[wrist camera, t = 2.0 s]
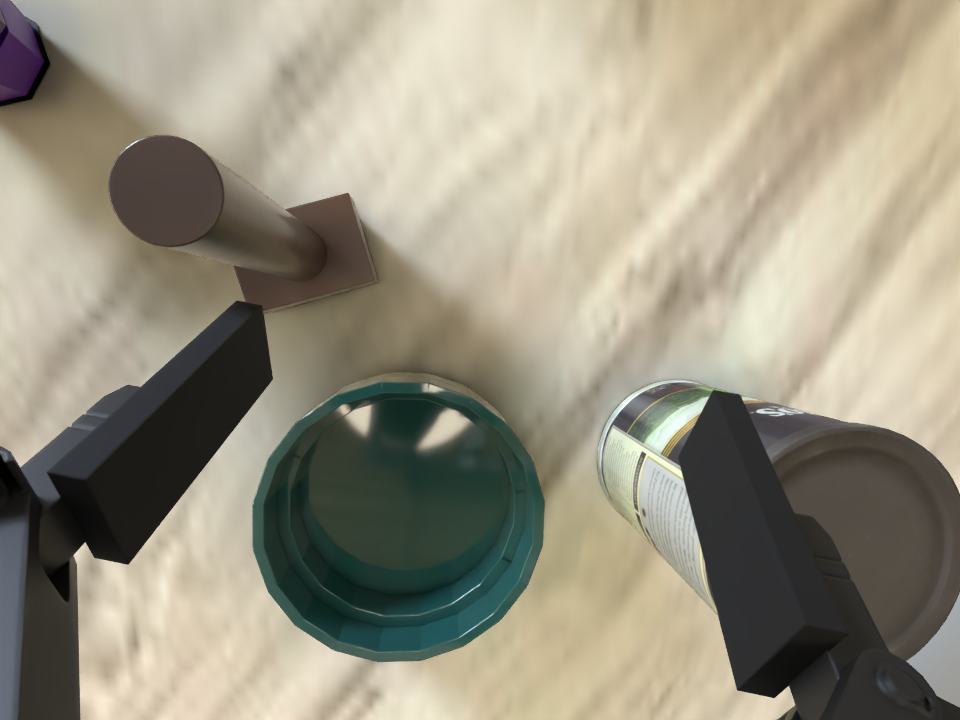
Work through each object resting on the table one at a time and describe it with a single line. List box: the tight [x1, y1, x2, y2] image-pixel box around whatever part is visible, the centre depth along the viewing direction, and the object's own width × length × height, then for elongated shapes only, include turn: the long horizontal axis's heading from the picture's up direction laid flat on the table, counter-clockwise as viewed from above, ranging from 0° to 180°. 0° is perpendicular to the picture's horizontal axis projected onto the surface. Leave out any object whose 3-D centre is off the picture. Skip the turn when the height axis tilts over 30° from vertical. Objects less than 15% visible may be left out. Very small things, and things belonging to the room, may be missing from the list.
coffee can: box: [597, 380, 960, 661], centre depth 26 cm, size 10×10×14 cm
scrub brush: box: [109, 135, 378, 314], centre depth 21 cm, size 5×7×17 cm
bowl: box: [253, 372, 545, 662], centre depth 29 cm, size 15×15×5 cm
